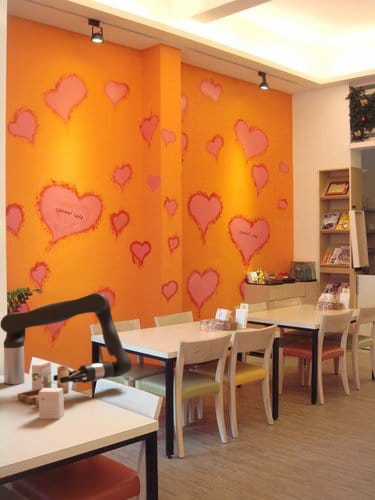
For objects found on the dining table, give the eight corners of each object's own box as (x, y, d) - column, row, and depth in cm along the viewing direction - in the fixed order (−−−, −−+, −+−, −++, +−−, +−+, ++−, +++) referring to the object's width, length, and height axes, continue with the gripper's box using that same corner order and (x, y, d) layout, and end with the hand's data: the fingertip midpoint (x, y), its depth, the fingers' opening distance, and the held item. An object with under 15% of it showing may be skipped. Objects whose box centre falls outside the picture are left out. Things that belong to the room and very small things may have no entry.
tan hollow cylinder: (55, 393, 236) (55, 366, 236) (64, 390, 239) (64, 365, 239) (61, 395, 233) (61, 368, 232) (70, 393, 236) (70, 366, 236)
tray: (17, 399, 239) (17, 393, 239) (41, 394, 247) (41, 388, 247) (31, 404, 231) (31, 398, 231) (55, 399, 239) (55, 393, 239)
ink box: (42, 386, 261) (42, 360, 261) (51, 386, 260) (51, 361, 260) (31, 390, 253) (31, 364, 253) (40, 391, 252) (40, 365, 252)
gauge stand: (35, 406, 229) (35, 376, 229) (49, 403, 233) (48, 374, 233) (43, 409, 225) (43, 379, 225) (56, 406, 229) (56, 376, 229)
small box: (64, 414, 217) (63, 387, 217) (59, 419, 212) (59, 391, 211) (44, 414, 218) (43, 387, 218) (38, 419, 212) (38, 391, 212)
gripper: (82, 361, 251) (48, 367, 239) (101, 366, 241) (66, 373, 229) (82, 378, 251) (48, 385, 239) (101, 384, 241) (66, 391, 229)
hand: (57, 379), depth 234 cm, fingers closed on tan hollow cylinder, 4 cm apart
